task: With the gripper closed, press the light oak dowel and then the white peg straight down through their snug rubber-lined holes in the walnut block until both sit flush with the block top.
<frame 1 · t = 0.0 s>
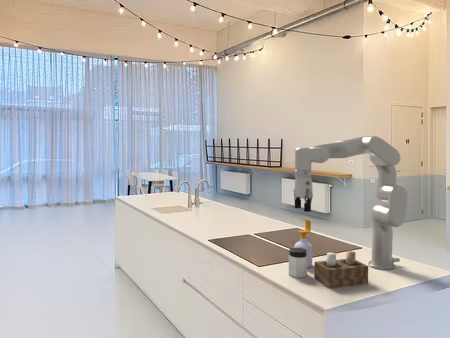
hand: (302, 209, 179), 31 cm above the counter, fingers open, 9 cm apart
soap bottle: (303, 265, 194), on the counter
jar: (297, 275, 180), on the counter
oak peg: (350, 260, 172), point 9 cm above the counter, slide at 5.0 cm
walnut block: (340, 281, 172), on the counter
white peg: (331, 262, 170), point 9 cm above the counter, slide at 5.0 cm
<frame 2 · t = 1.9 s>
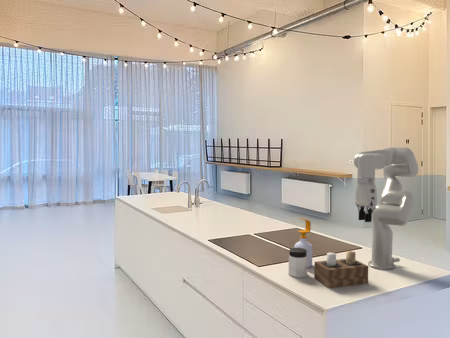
hand: (364, 220, 173), 27 cm above the counter, fingers open, 3 cm apart
nothing on the counter moved.
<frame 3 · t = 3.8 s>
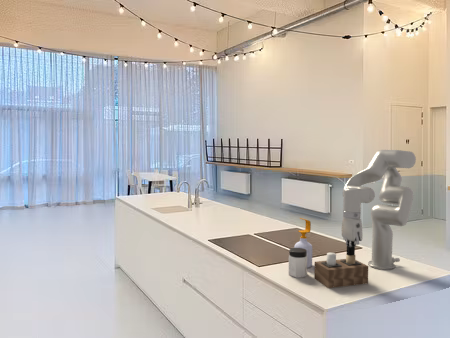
hand: (350, 254, 172), 12 cm above the counter, fingers closed
oak peg: (350, 263, 172), point 8 cm above the counter, slide at 3.8 cm, touching gripper
everything else where it was.
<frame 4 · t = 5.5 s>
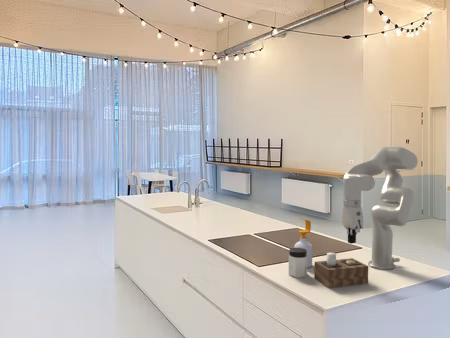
hand: (351, 242, 172), 17 cm above the counter, fingers closed
oak peg: (350, 269, 173), point 5 cm above the counter, slide at 0.6 cm
everything else where it was.
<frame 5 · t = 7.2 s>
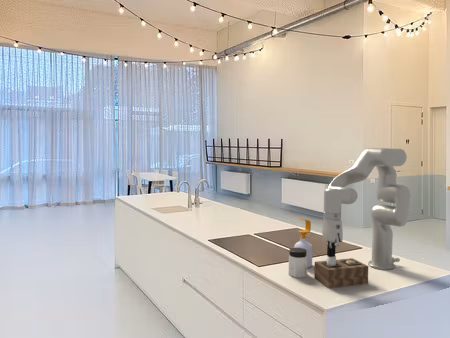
hand: (331, 256, 169), 12 cm above the counter, fingers closed
white peg: (331, 264, 170), point 8 cm above the counter, slide at 3.9 cm, touching gripper
everything else where it was.
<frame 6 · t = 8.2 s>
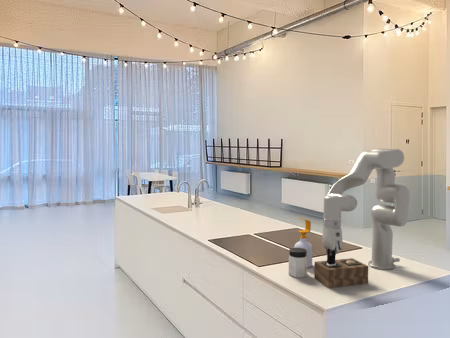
hand: (331, 263, 170), 9 cm above the counter, fingers closed
white peg: (331, 271, 170), point 5 cm above the counter, slide at 0.6 cm, touching gripper
everything else where it was.
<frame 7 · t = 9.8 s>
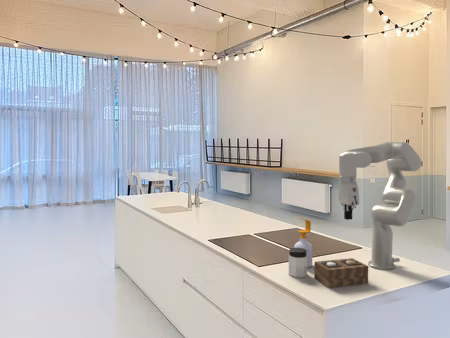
hand: (348, 219, 175), 28 cm above the counter, fingers closed
white peg: (331, 271, 170), point 5 cm above the counter, slide at 0.6 cm
everything else where it was.
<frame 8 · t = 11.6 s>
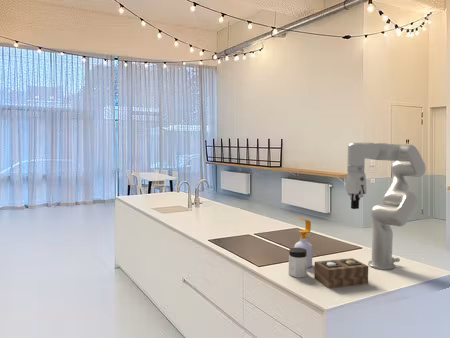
hand: (354, 208, 177), 32 cm above the counter, fingers closed
nothing on the counter moved.
at the end: oak peg slide at 0.6 cm; white peg slide at 0.6 cm; white peg touching nothing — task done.
